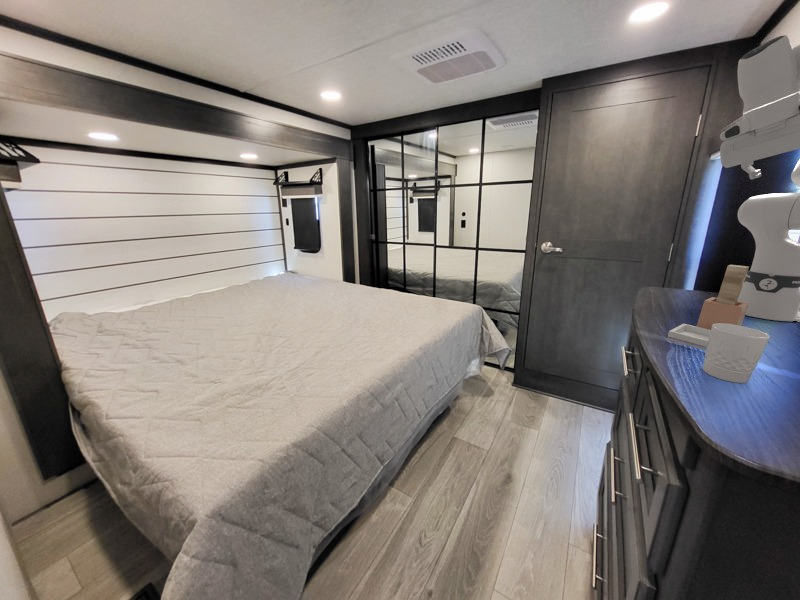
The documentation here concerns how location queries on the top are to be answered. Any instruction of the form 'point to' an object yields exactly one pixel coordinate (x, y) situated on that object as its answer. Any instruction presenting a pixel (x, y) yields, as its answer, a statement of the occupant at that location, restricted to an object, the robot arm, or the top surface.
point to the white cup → (733, 352)
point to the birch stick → (732, 284)
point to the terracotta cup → (721, 313)
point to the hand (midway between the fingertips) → (781, 172)
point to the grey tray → (690, 336)
